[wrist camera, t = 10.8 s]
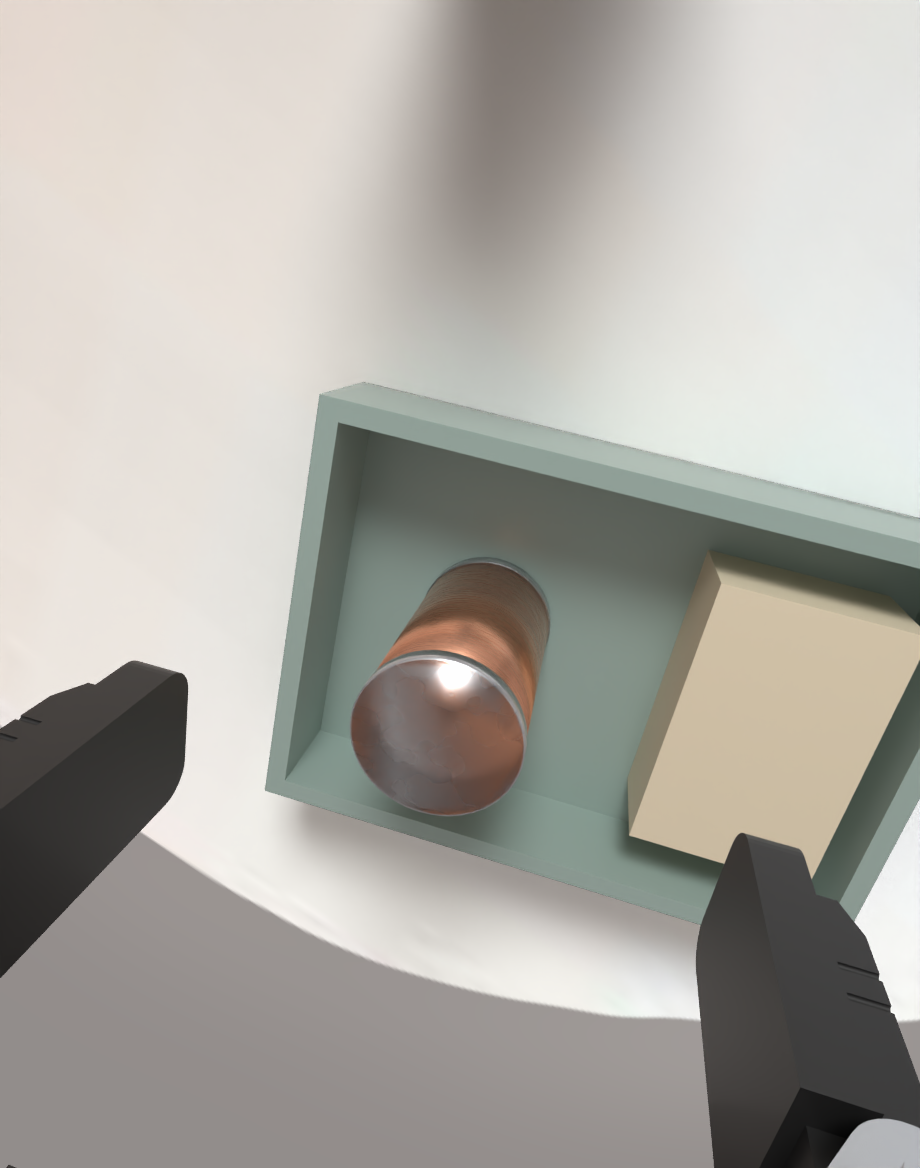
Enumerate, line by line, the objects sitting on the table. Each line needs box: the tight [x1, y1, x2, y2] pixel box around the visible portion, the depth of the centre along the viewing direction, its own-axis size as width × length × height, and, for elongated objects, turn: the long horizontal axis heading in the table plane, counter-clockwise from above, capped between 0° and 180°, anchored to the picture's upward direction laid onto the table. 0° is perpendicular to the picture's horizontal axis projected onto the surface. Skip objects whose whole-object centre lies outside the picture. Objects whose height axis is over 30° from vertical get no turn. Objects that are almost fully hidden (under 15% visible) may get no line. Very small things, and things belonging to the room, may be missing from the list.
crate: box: [265, 382, 920, 925], centre depth 30 cm, size 24×17×5 cm
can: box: [350, 557, 551, 816], centre depth 28 cm, size 6×6×10 cm
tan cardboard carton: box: [627, 550, 920, 879], centre depth 29 cm, size 7×11×4 cm, turn 168°
